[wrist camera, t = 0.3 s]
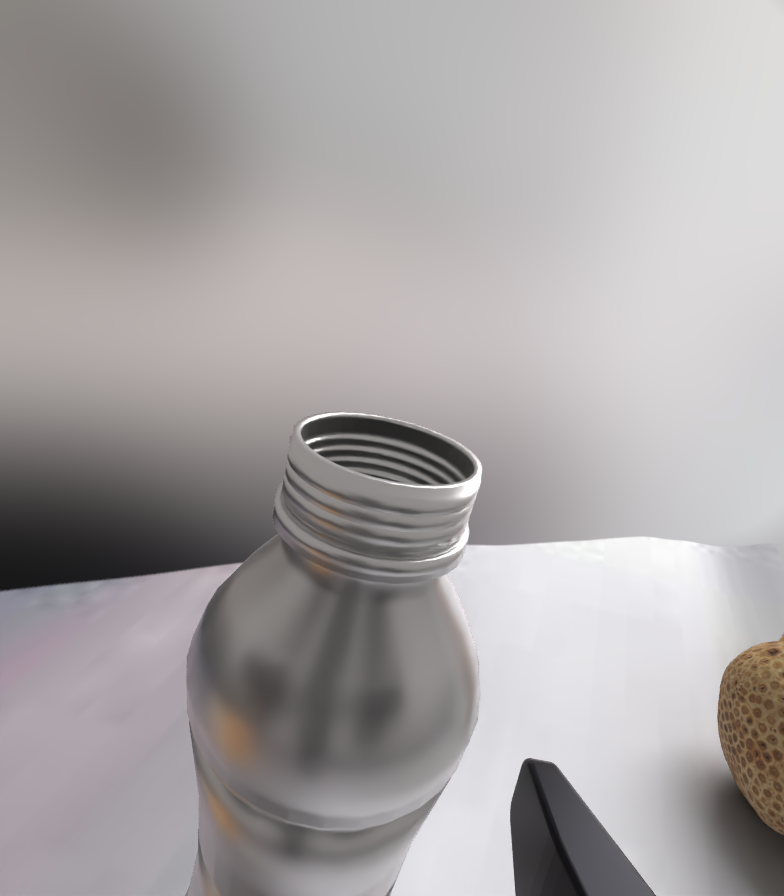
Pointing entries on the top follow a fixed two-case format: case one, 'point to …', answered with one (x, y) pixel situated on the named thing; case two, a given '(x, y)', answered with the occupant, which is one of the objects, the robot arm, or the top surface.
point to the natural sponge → (756, 728)
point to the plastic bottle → (336, 666)
